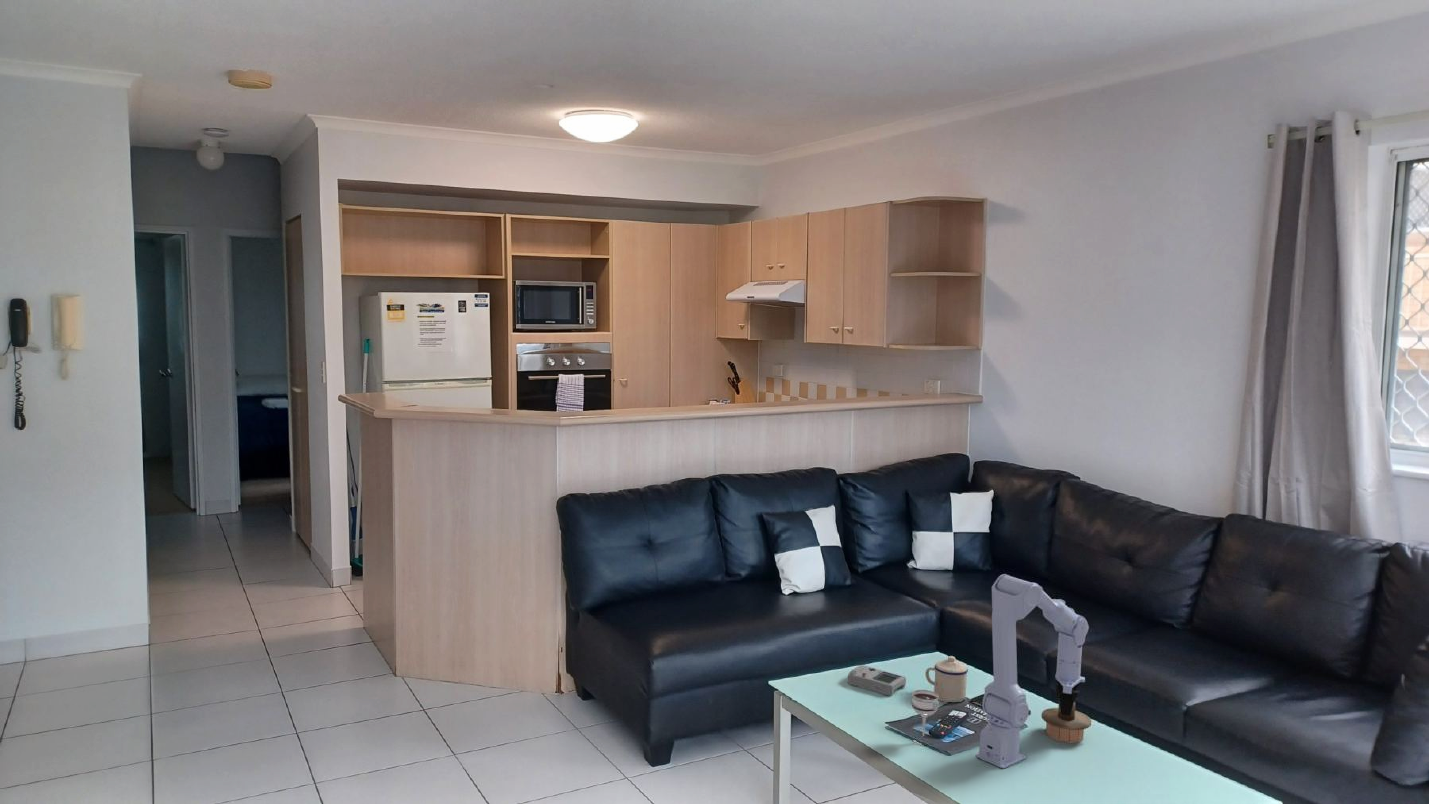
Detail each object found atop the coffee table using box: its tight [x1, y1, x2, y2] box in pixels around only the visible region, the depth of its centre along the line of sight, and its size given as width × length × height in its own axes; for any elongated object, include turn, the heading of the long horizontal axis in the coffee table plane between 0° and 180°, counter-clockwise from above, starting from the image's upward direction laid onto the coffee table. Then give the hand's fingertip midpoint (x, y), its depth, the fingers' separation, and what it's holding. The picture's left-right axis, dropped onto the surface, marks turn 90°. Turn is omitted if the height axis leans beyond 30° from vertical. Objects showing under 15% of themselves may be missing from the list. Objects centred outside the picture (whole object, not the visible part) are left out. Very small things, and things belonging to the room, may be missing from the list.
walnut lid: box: [1041, 700, 1092, 730], centre depth 245 cm, size 12×12×5 cm
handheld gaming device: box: [847, 664, 907, 697], centre depth 275 cm, size 9×15×4 cm, turn 52°
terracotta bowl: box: [1045, 722, 1085, 744], centre depth 246 cm, size 9×9×4 cm
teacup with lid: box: [925, 655, 969, 703], centre depth 269 cm, size 12×9×12 cm
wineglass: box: [910, 689, 940, 747], centre depth 240 cm, size 7×7×12 cm
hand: (1065, 710), depth 245 cm, fingers open, 4 cm apart
